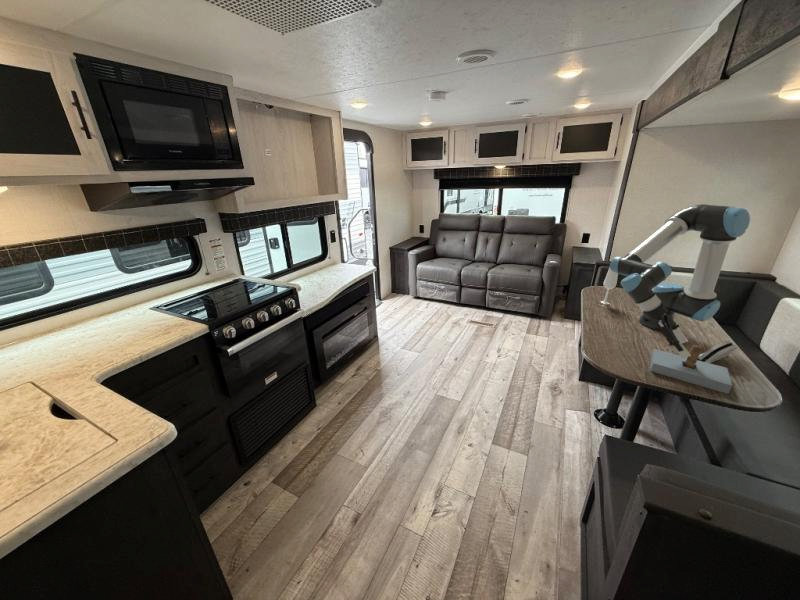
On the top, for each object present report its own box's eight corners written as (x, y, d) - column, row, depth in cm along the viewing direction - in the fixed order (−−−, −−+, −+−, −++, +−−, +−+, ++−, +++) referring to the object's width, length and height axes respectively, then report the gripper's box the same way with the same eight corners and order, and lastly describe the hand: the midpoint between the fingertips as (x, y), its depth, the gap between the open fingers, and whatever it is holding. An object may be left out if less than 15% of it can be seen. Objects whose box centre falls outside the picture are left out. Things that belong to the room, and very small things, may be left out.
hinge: (713, 350, 147) (731, 336, 141) (724, 358, 144) (742, 344, 137) (692, 358, 141) (710, 344, 135) (703, 366, 138) (721, 352, 132)
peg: (681, 370, 133) (692, 344, 128) (690, 373, 131) (701, 346, 126) (681, 373, 131) (692, 347, 126) (691, 376, 129) (702, 349, 124)
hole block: (650, 371, 133) (653, 363, 131) (651, 356, 143) (653, 348, 141) (728, 393, 119) (732, 385, 118) (723, 375, 130) (727, 367, 128)
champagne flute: (606, 306, 193) (617, 269, 183) (595, 302, 198) (605, 266, 189) (612, 304, 196) (623, 268, 186) (602, 300, 201) (611, 265, 192)
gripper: (643, 301, 142) (674, 339, 140) (640, 322, 124) (676, 366, 122) (661, 293, 137) (694, 333, 135) (662, 313, 119) (699, 360, 117)
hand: (685, 349), depth 128 cm, fingers open, 13 cm apart
